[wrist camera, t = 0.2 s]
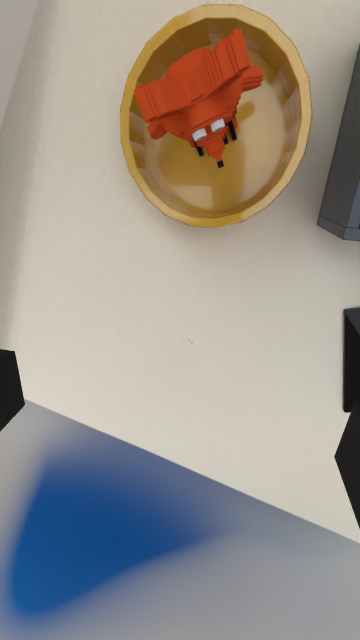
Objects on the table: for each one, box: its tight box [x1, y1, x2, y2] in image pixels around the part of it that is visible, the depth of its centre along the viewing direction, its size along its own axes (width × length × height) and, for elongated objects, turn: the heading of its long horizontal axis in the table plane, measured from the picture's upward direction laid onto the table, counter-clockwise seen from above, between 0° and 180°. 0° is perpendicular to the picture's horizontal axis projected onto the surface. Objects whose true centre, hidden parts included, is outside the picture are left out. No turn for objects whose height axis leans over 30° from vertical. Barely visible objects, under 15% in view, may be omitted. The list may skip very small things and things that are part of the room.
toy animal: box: [133, 27, 263, 168], centre depth 20 cm, size 8×6×12 cm
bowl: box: [120, 5, 312, 228], centre depth 24 cm, size 13×13×4 cm
